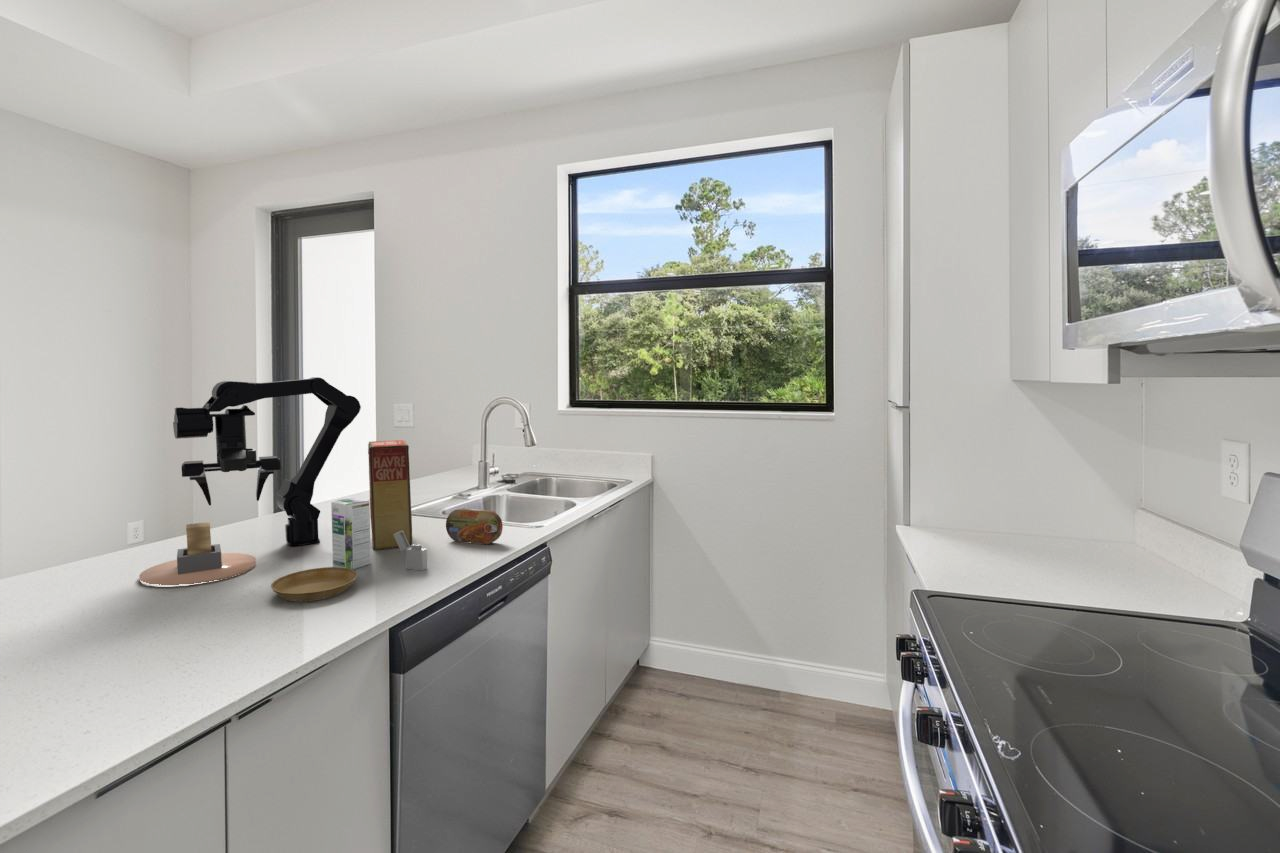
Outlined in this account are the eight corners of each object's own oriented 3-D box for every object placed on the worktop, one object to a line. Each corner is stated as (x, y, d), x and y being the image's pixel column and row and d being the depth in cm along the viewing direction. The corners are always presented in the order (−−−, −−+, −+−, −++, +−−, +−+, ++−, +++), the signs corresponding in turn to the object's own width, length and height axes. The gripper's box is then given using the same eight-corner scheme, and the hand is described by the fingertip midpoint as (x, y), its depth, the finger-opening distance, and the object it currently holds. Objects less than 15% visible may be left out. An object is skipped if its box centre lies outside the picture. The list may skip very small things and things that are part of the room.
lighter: (427, 568, 132) (426, 531, 132) (422, 570, 131) (421, 533, 130) (399, 565, 134) (398, 529, 133) (394, 567, 132) (393, 531, 132)
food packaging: (370, 537, 157) (367, 440, 155) (409, 533, 161) (407, 439, 159) (371, 550, 145) (368, 446, 143) (413, 546, 149) (411, 444, 147)
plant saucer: (368, 593, 117) (368, 580, 117) (282, 613, 107) (281, 598, 107) (343, 574, 128) (343, 562, 128) (263, 591, 118) (262, 578, 118)
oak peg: (211, 562, 132) (209, 521, 131) (212, 567, 128) (209, 525, 128) (188, 566, 129) (186, 524, 129) (188, 571, 126) (186, 528, 125)
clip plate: (252, 552, 143) (251, 533, 143) (259, 575, 127) (258, 554, 126) (142, 567, 131) (141, 547, 131) (135, 595, 115) (134, 571, 115)
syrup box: (331, 567, 132) (329, 501, 131) (355, 560, 138) (353, 496, 136) (348, 571, 130) (346, 504, 128) (372, 563, 135) (370, 499, 134)
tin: (445, 541, 154) (444, 508, 153) (452, 538, 157) (452, 505, 156) (498, 546, 149) (497, 512, 149) (504, 543, 152) (504, 509, 152)
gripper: (179, 441, 128) (183, 514, 129) (281, 436, 139) (284, 504, 140) (180, 436, 137) (184, 505, 138) (276, 432, 148) (279, 496, 149)
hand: (234, 502), depth 141 cm, fingers open, 9 cm apart
